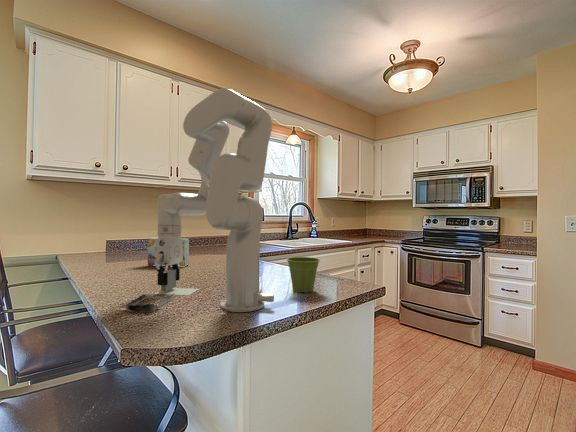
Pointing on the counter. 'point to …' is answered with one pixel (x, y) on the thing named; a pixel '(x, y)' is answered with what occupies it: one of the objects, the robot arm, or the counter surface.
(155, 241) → the snack box
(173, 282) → the slate plaque
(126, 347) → the counter surface
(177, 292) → the mat
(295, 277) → the plant pot
